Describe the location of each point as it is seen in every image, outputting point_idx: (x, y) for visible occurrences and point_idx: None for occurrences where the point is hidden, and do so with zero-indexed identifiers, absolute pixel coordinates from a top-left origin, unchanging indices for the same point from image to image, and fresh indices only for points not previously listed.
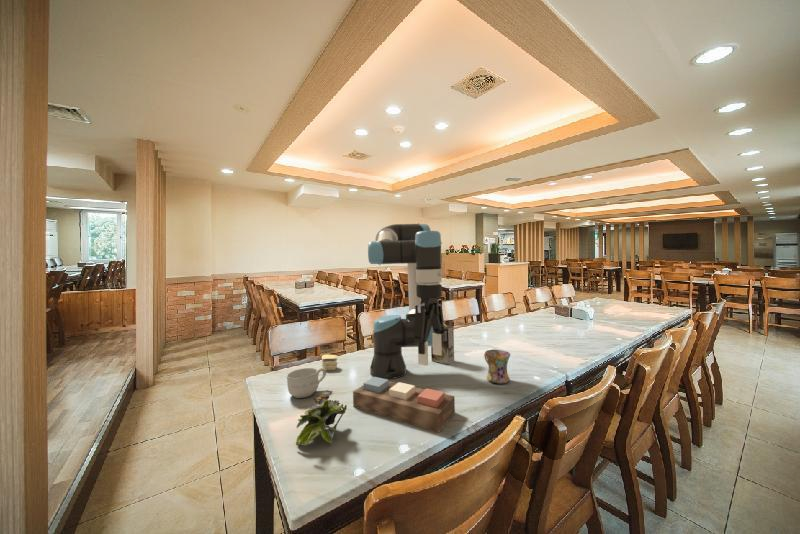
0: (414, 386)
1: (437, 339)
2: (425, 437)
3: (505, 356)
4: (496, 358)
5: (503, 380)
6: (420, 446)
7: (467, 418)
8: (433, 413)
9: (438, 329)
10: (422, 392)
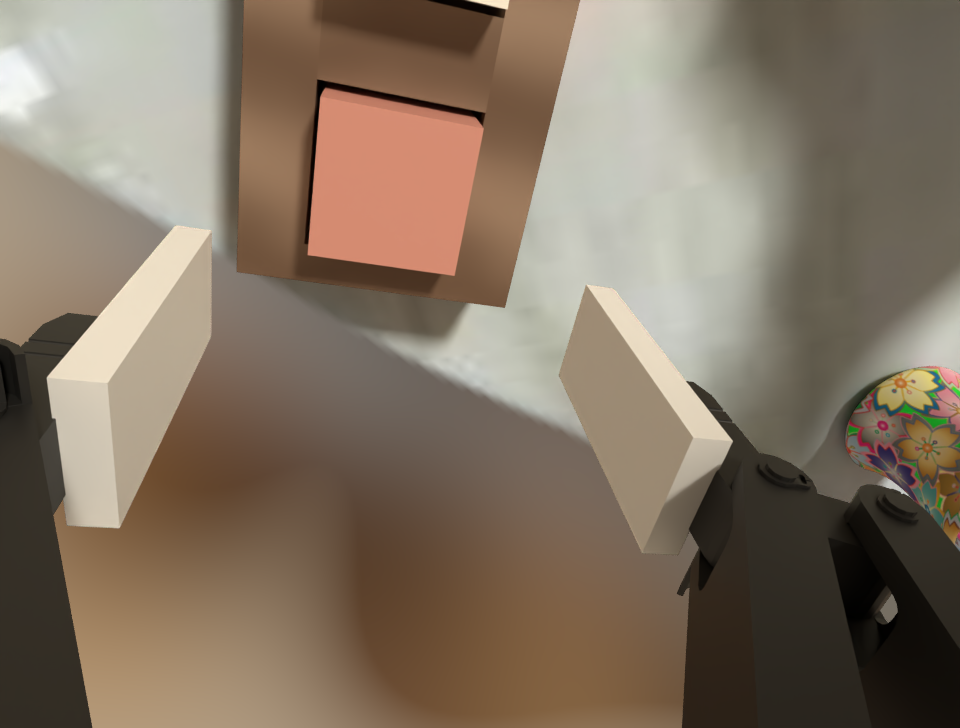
0: (495, 6)
1: (631, 457)
2: (170, 174)
3: None
4: (950, 519)
5: (857, 455)
6: (76, 171)
7: (446, 338)
8: (239, 235)
9: (698, 591)
10: (399, 117)
